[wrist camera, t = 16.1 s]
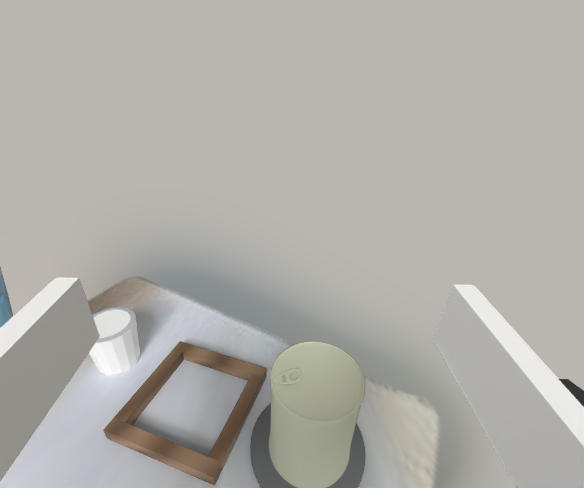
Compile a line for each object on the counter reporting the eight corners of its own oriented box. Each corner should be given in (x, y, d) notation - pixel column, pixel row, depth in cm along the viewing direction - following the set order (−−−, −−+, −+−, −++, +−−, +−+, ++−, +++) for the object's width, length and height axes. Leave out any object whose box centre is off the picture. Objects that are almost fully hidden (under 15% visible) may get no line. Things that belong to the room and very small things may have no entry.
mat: (230, 485, 32) (229, 482, 32) (275, 382, 43) (275, 379, 43) (355, 539, 29) (356, 537, 28) (370, 413, 40) (370, 410, 39)
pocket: (106, 438, 36) (103, 430, 35) (181, 348, 47) (180, 341, 47) (214, 485, 32) (213, 477, 31) (266, 376, 44) (266, 368, 43)
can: (265, 409, 39) (266, 340, 33) (337, 401, 40) (349, 334, 34) (272, 497, 31) (274, 426, 25) (360, 484, 32) (382, 414, 26)
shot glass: (101, 343, 48) (89, 308, 44) (149, 338, 49) (140, 304, 45) (84, 382, 42) (68, 345, 38) (138, 375, 43) (128, 339, 40)
